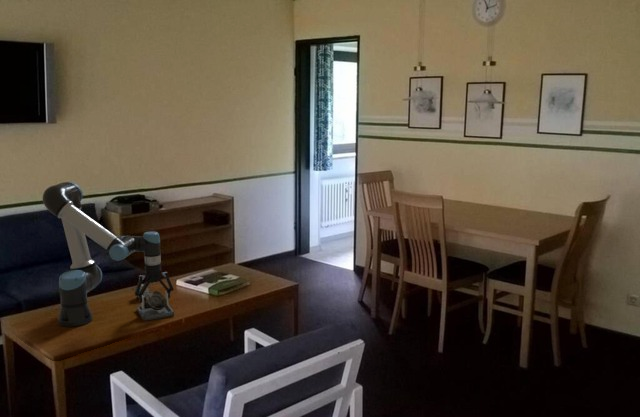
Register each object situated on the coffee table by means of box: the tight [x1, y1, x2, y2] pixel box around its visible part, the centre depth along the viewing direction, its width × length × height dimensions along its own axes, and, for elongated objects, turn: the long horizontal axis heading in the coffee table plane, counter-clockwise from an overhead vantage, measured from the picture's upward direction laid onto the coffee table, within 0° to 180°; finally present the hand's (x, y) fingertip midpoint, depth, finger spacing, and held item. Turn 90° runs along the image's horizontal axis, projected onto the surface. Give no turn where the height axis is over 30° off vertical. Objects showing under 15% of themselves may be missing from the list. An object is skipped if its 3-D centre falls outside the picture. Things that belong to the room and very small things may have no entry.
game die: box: [132, 283, 151, 299], centre depth 319 cm, size 9×8×10 cm
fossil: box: [144, 290, 167, 310], centre depth 297 cm, size 11×9×10 cm
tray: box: [136, 304, 175, 322], centre depth 298 cm, size 15×16×2 cm
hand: (155, 306), depth 297 cm, fingers closed on fossil, 11 cm apart
